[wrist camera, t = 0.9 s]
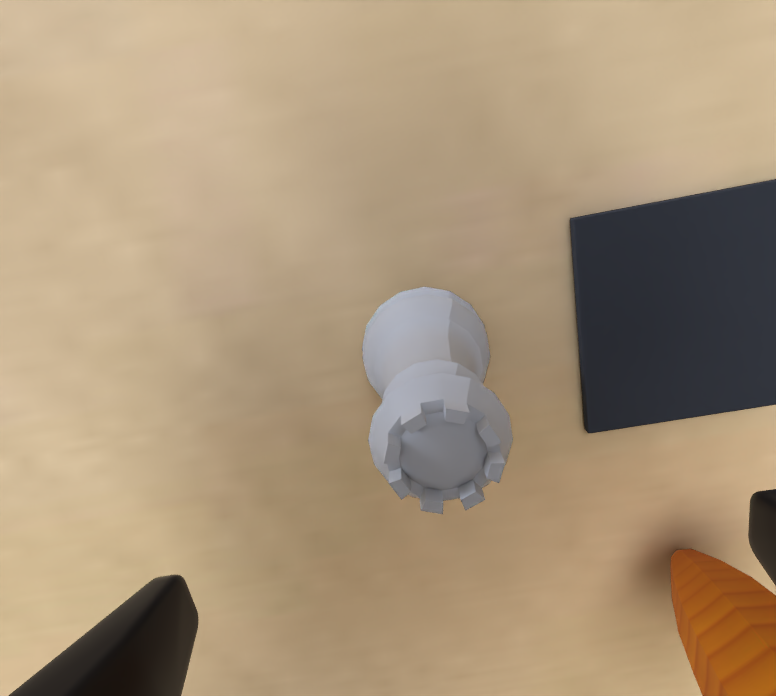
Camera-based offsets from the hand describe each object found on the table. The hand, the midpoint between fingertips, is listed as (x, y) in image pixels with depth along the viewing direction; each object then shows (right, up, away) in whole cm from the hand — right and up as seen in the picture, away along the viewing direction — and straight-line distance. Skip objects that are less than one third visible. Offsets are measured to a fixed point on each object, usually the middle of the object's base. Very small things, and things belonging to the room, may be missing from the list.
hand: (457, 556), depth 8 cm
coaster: (+9, +4, +10) cm, 14 cm away
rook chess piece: (0, +3, +10) cm, 11 cm away
